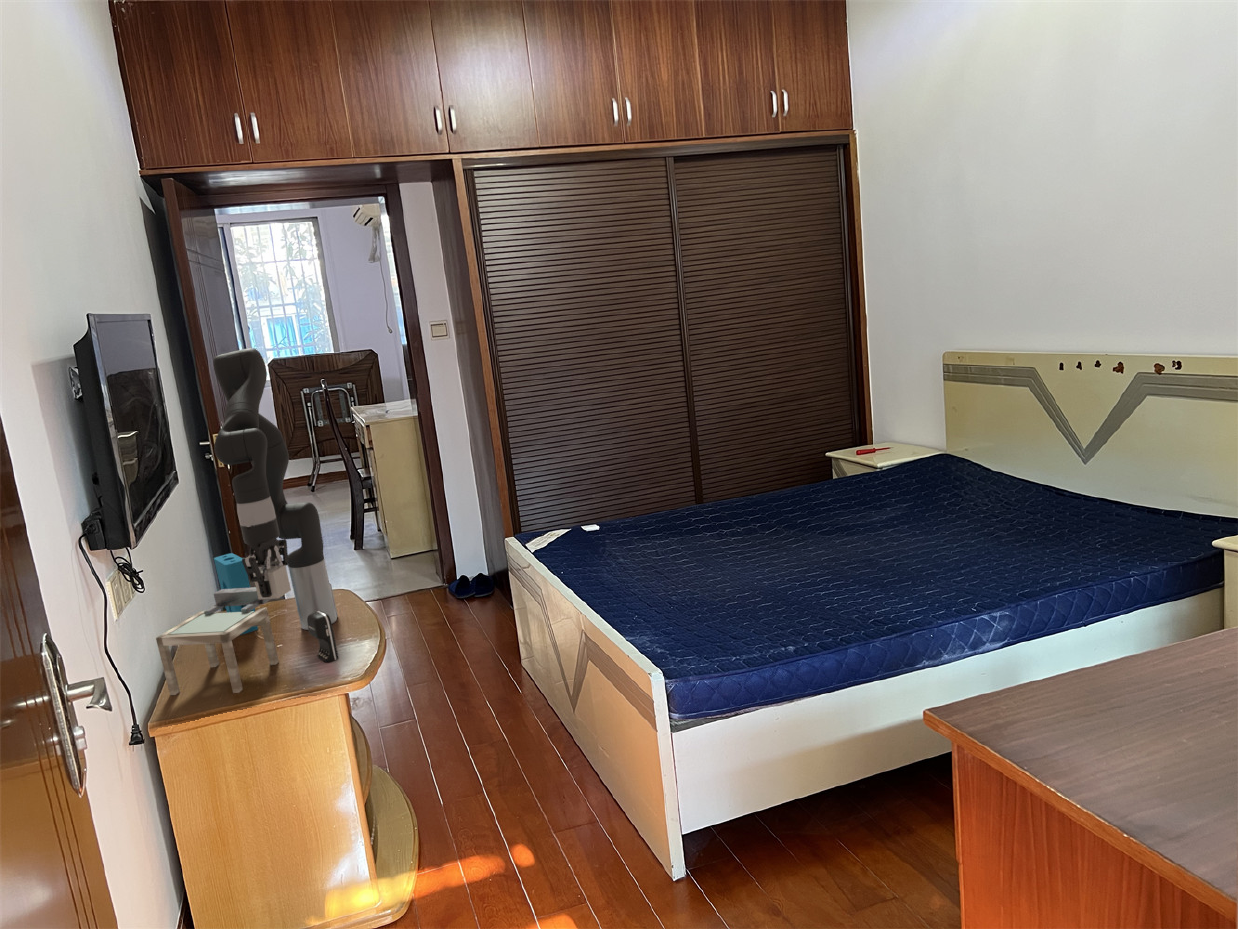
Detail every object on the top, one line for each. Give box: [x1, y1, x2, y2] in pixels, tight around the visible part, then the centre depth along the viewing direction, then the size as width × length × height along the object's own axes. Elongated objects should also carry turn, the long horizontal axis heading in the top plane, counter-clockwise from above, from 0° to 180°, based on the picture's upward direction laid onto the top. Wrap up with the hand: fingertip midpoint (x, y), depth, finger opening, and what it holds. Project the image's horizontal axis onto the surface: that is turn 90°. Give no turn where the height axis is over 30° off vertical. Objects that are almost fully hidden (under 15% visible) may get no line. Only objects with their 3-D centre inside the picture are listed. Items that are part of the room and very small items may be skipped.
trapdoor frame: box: [155, 607, 280, 696], centre depth 211 cm, size 16×18×14 cm
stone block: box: [253, 565, 292, 600], centre depth 202 cm, size 5×5×6 cm
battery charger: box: [307, 611, 339, 663], centre depth 215 cm, size 7×4×11 cm, turn 40°
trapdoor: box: [169, 586, 272, 635], centre depth 213 cm, size 20×14×4 cm
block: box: [213, 552, 259, 636], centre depth 244 cm, size 12×5×20 cm, turn 39°
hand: (274, 591), depth 202 cm, fingers closed on stone block, 5 cm apart
